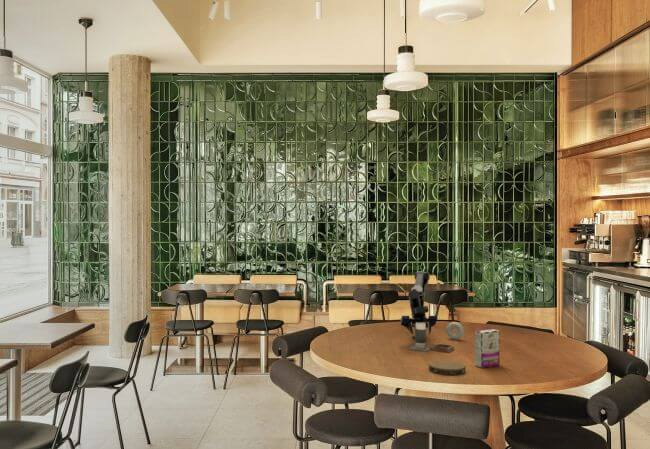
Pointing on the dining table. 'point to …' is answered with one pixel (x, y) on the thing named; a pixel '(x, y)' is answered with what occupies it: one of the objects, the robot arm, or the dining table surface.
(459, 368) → the brown round disc
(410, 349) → the charcoal mat
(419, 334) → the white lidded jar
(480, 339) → the candy bar box
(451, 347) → the walnut collar
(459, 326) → the donut
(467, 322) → the dining table surface
